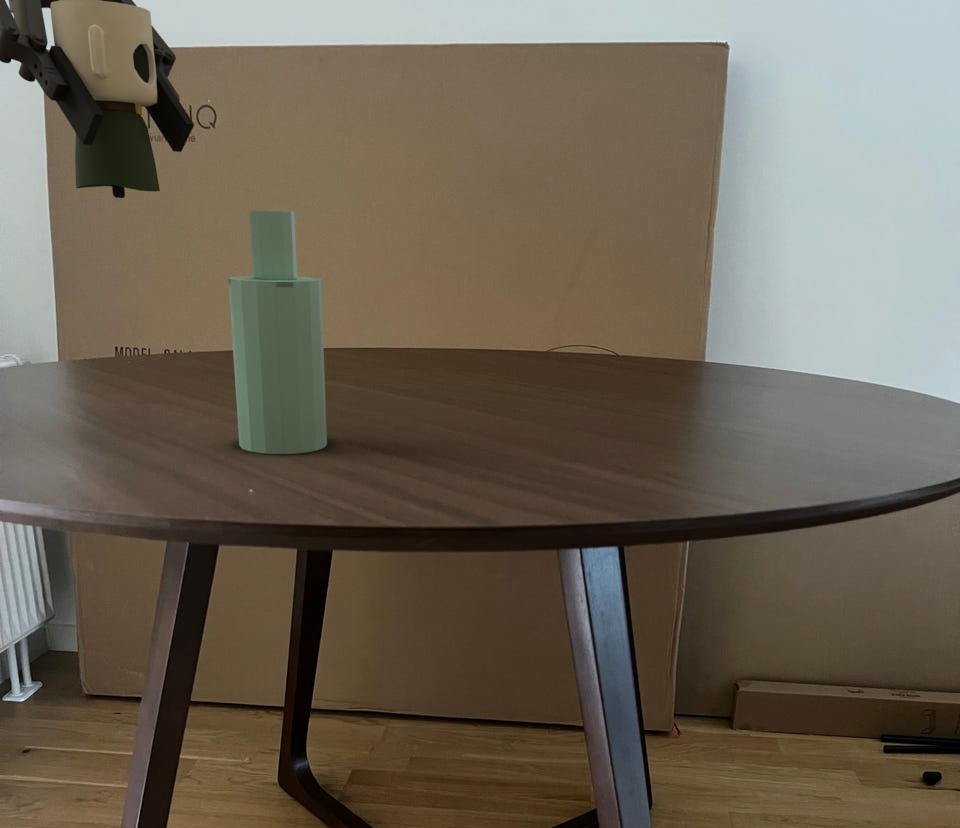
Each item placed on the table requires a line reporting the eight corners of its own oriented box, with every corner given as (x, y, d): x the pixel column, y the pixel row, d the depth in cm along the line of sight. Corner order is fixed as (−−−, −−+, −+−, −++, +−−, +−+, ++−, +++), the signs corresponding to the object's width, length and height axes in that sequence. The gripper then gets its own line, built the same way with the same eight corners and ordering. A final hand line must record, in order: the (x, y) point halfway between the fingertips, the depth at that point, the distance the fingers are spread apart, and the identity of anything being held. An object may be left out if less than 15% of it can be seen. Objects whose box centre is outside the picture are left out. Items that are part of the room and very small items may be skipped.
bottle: (248, 463, 83) (232, 209, 76) (234, 445, 89) (217, 209, 82) (335, 458, 86) (328, 212, 78) (315, 441, 92) (306, 211, 85)
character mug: (161, 198, 77) (144, -3, 72) (60, 195, 76) (36, -10, 71) (170, 200, 87) (156, 23, 82) (81, 197, 85) (61, 17, 81)
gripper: (95, -23, 90) (226, 178, 88) (-149, -75, 76) (-1, 165, 73) (124, -105, 85) (264, 106, 83) (-131, -177, 71) (29, 76, 68)
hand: (140, 133), depth 78 cm, fingers closed on character mug, 7 cm apart
